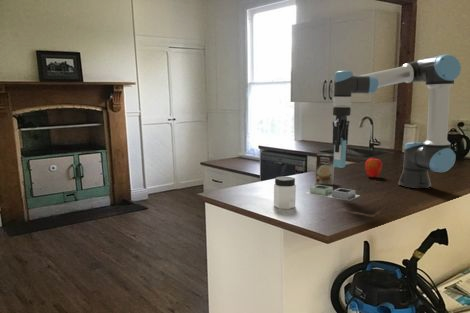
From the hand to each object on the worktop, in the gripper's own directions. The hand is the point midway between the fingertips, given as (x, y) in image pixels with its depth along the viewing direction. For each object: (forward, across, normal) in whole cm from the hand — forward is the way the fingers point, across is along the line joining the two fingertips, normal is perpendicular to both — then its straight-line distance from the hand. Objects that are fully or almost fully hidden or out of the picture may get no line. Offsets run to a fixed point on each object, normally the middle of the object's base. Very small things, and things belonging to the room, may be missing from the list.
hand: (339, 158), depth 173 cm
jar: (+18, +29, -11) cm, 36 cm away
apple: (+18, -57, -3) cm, 60 cm away
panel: (+18, 0, -3) cm, 18 cm away
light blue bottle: (+4, 0, 0) cm, 4 cm away
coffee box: (+18, -22, -16) cm, 33 cm away
